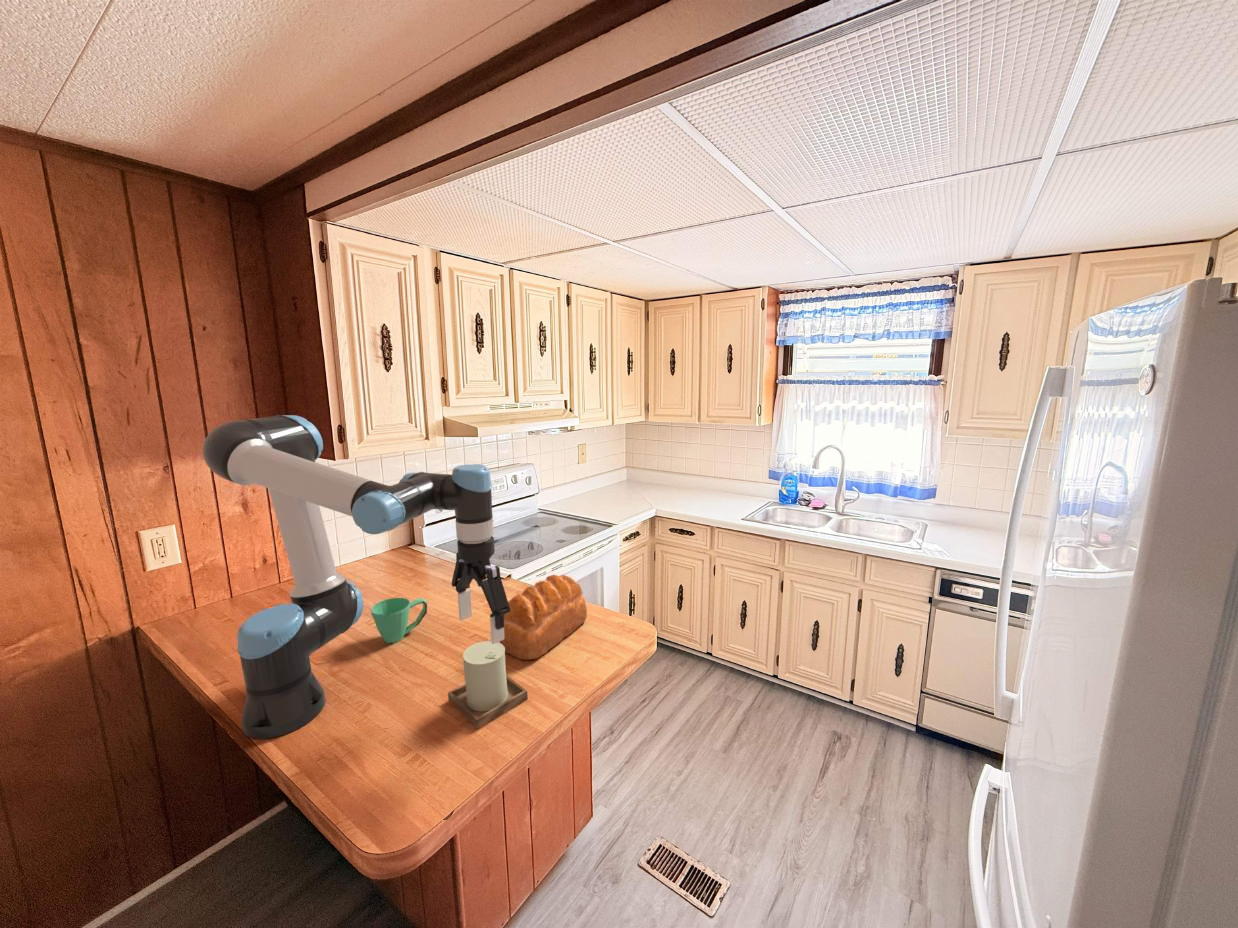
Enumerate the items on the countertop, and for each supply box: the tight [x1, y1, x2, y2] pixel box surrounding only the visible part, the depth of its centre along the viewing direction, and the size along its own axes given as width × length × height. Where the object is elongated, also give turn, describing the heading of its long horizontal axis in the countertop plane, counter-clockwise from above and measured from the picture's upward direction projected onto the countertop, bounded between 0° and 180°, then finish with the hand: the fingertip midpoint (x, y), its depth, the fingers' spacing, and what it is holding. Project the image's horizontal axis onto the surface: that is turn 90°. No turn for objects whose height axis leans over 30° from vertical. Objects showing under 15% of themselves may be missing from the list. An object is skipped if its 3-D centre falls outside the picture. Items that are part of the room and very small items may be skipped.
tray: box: [447, 674, 528, 730], centre depth 109 cm, size 13×13×2 cm
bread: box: [499, 574, 588, 661], centre depth 135 cm, size 14×26×16 cm, turn 149°
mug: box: [370, 597, 428, 644], centre depth 136 cm, size 15×10×10 cm
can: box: [462, 640, 508, 712], centre depth 108 cm, size 9×9×12 cm
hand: (481, 628), depth 106 cm, fingers open, 13 cm apart
